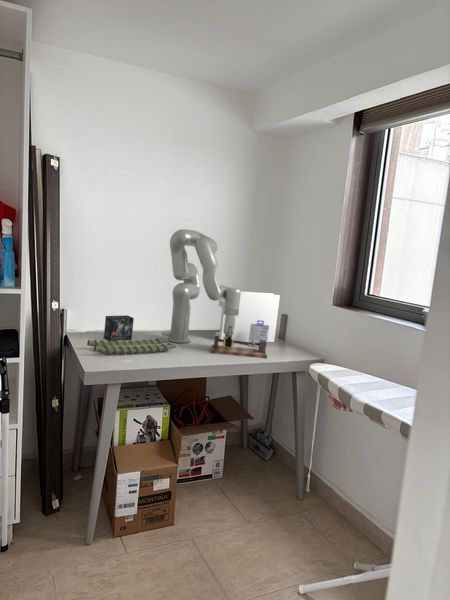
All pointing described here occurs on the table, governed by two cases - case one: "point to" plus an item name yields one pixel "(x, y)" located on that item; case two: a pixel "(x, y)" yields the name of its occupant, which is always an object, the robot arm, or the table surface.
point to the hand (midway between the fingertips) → (227, 344)
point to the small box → (118, 328)
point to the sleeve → (225, 340)
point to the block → (253, 315)
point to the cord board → (240, 349)
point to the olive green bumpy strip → (131, 346)
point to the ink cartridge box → (258, 333)
